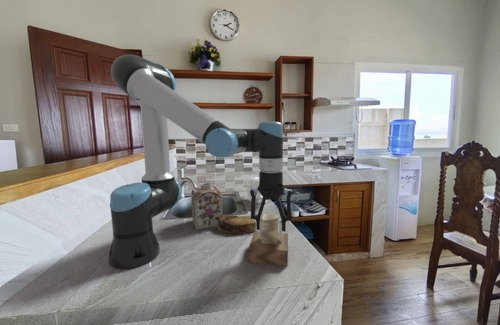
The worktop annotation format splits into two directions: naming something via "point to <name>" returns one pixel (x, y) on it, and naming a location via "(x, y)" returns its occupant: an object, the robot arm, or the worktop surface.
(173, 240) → the worktop surface
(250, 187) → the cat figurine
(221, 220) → the stone
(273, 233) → the oak block
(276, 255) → the plinth
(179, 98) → the robot arm
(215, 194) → the decorative jar
